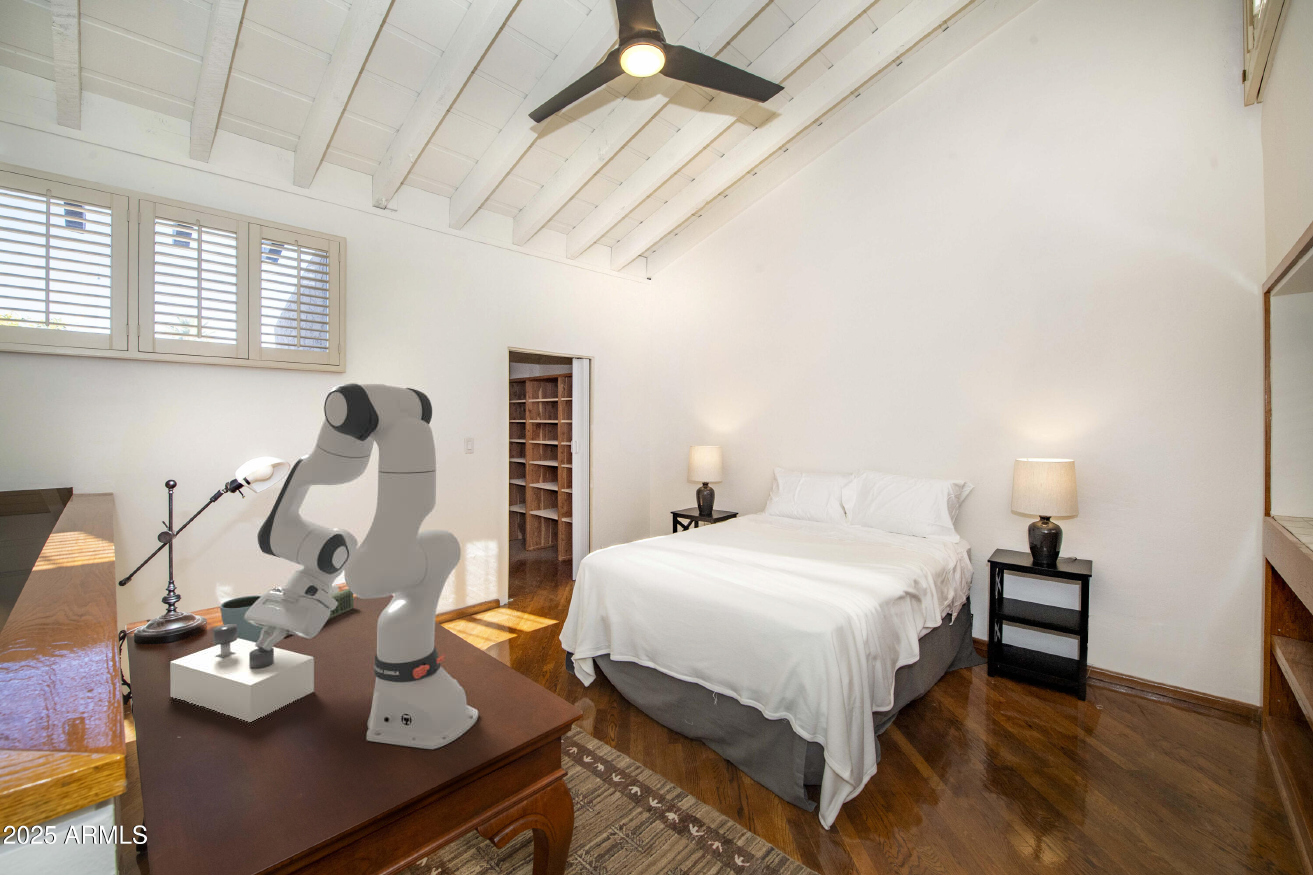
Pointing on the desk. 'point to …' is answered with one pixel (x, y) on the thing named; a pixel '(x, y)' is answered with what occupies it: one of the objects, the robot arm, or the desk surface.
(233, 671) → the control block
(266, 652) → the knob
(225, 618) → the teal plant pot
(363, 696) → the desk surface
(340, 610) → the handheld radio
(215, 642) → the knob
